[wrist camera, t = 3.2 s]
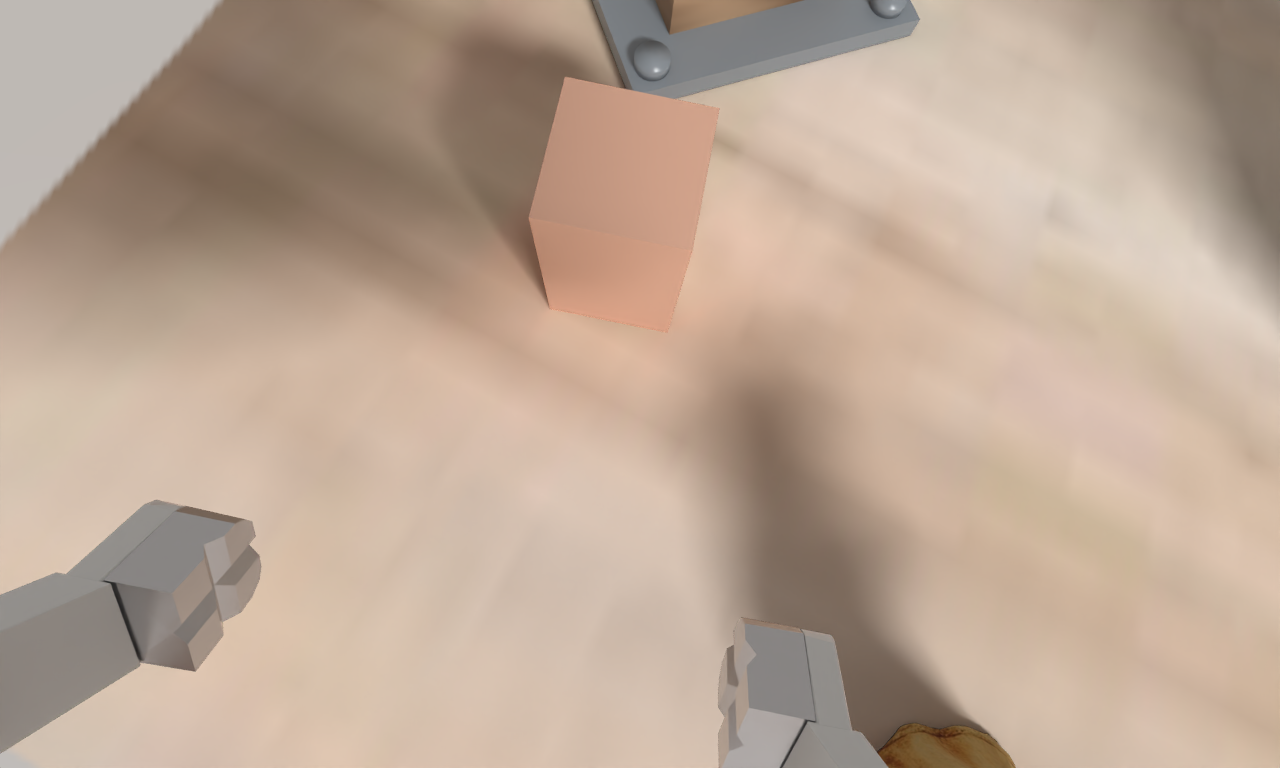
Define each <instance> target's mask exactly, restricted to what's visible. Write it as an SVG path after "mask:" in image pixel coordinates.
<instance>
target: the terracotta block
mask: <svg viewBox="0 0 1280 768" xmlns="http://www.w3.org/2000/svg"><path fill="white" fill-rule="evenodd" d="M719 109H720V108H716V107H711V106H706V105H701V104H696V103H691V102H686V101H681V100H677V99H672V98H667V97H662V96H657V95H652V94H647V93H643V92H638V91H633V90H628V89H623V88H618V87H613V86H609V85H604V84H599V83H594V82H589V81H584V80H579V79H574V78H570V77H565V79H564V82H563V86H562V90H561V94H560V98H559V102H558V106H557V109H556V113H555V117H554V121H553V125H552V129H551V133H550V136H549V140H548V144H547V148H546V152H545V156H544V160H543V163H542V167H541V171H540V175H539V179H538V183H537V187H536V190H535V194H534V198H533V202H532V206H531V210H530V214H529V222H530V226H531V230H532V234H533V239H534V243H535V247H536V251H537V256H538V260H539V264H540V268H541V273H542V277H543V281H544V285H545V290H546V294H547V298H548V302H549V307H550V309H554V310H558V311H563V312H568V313H573V314H578V315H583V316H588V317H593V318H598V319H603V320H608V321H613V322H618V323H623V324H627V325H632V326H637V327H642V328H647V329H652V330H657V331H662V332H668V329H669V325H670V322H671V319H672V316H673V312H674V309H675V306H676V303H677V299H678V296H679V293H680V290H681V286H682V283H683V280H684V277H685V273H686V270H687V267H688V264H689V260H690V257H691V254H692V250H693V245H694V240H695V235H696V229H697V224H698V219H699V214H700V208H701V203H702V198H703V193H704V187H705V182H706V177H707V172H708V166H709V161H710V156H711V151H712V145H713V140H714V135H715V130H716V124H717V119H718V114H719Z"/></svg>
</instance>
